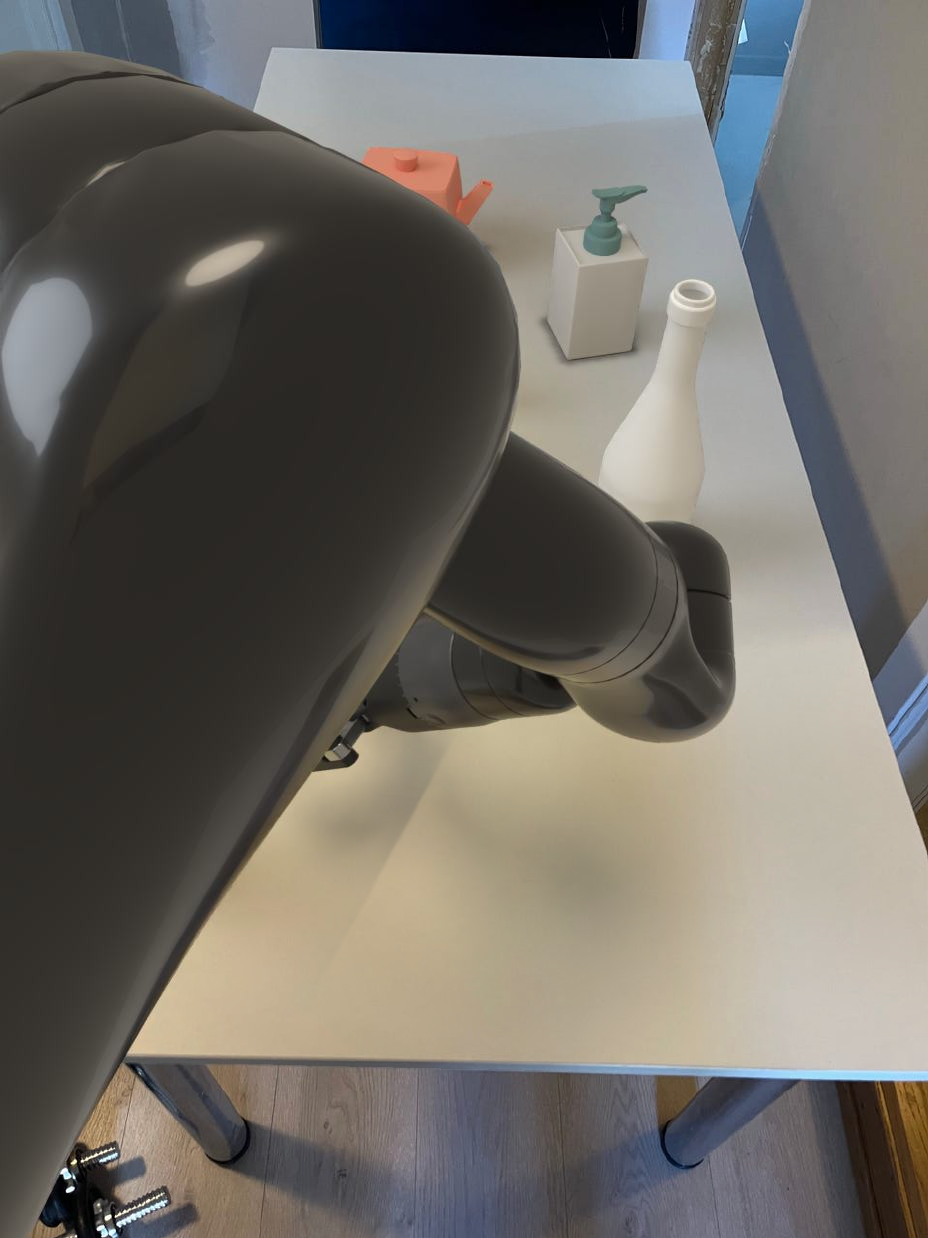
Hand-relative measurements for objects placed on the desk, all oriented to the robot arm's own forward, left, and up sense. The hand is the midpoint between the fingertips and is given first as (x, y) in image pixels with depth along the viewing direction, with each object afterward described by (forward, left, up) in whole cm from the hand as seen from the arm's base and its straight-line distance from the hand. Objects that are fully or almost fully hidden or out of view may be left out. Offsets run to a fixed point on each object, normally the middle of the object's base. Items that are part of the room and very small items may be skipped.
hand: (319, 691), depth 69 cm
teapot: (+75, +31, -12) cm, 82 cm away
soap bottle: (+68, +2, -12) cm, 69 cm away
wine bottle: (+35, -15, -12) cm, 40 cm away
